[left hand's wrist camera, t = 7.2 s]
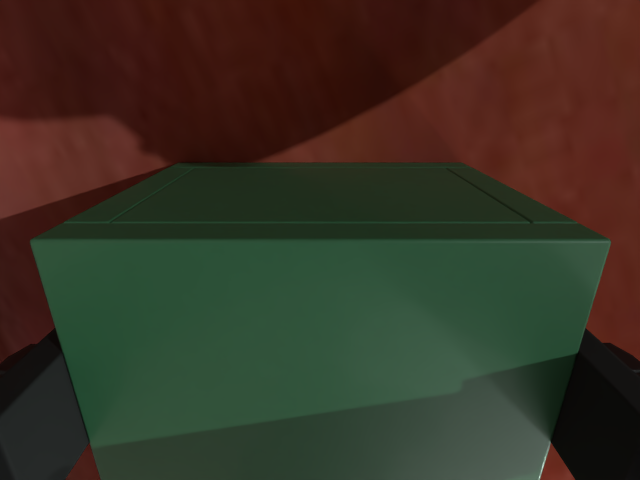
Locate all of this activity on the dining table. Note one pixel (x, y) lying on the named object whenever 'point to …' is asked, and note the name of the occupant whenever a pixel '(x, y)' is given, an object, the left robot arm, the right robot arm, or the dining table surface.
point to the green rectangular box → (320, 322)
